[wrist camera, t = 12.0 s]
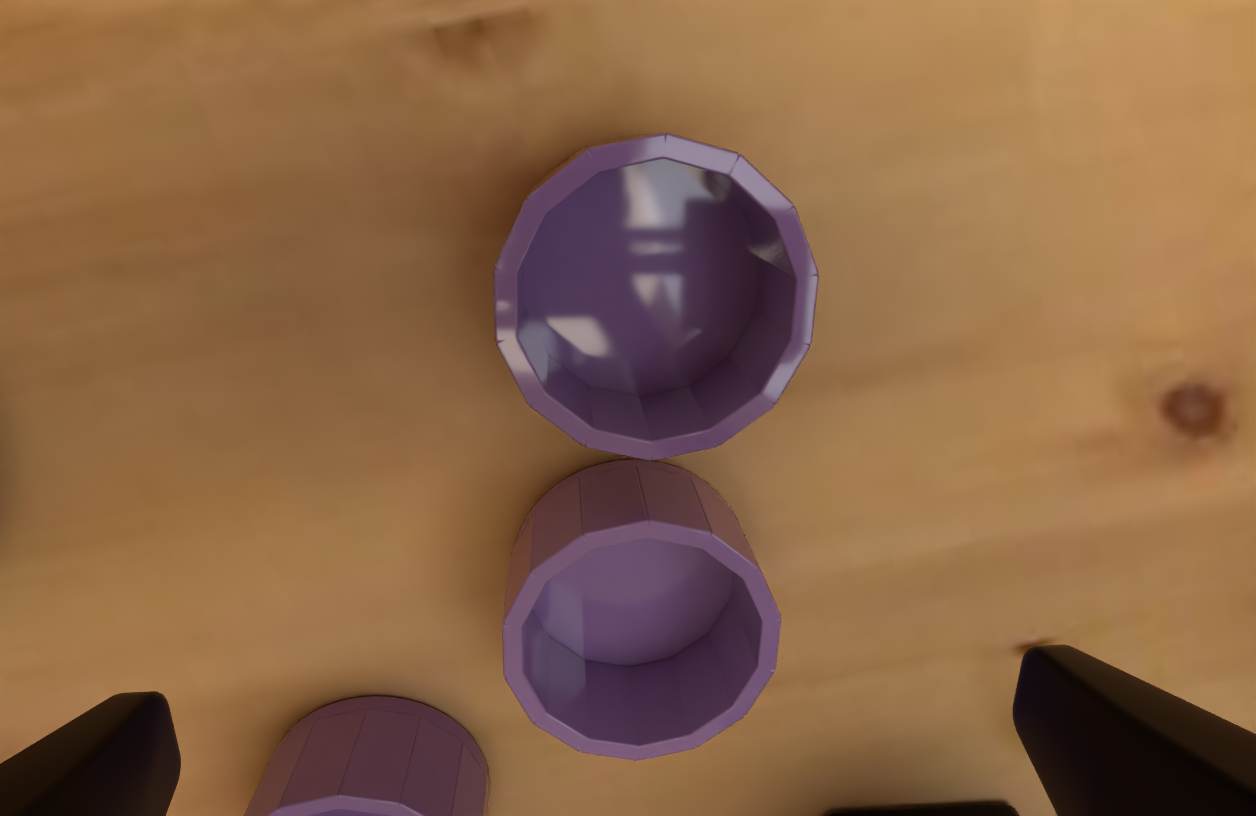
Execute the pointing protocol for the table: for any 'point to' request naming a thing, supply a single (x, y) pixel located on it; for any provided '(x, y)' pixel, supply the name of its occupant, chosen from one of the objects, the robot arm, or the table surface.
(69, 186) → the table surface
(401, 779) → the dish
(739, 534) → the dish
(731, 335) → the dish
